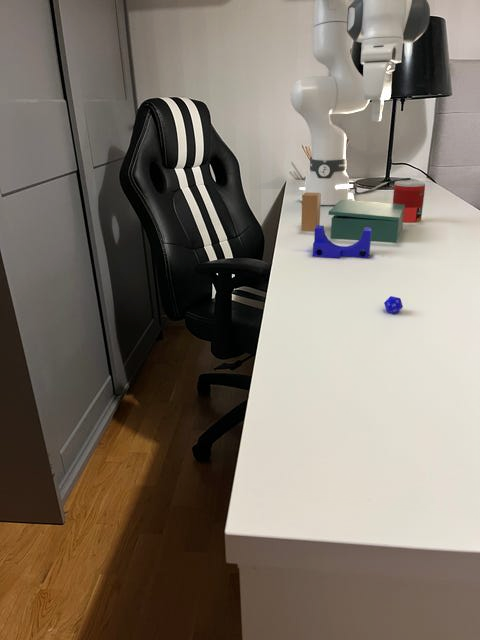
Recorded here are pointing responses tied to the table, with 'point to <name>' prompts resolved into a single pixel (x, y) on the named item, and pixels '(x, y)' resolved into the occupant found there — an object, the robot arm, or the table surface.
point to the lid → (368, 210)
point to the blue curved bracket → (340, 251)
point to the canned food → (410, 199)
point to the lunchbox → (355, 226)
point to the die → (393, 304)
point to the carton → (310, 211)
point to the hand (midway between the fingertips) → (376, 121)
